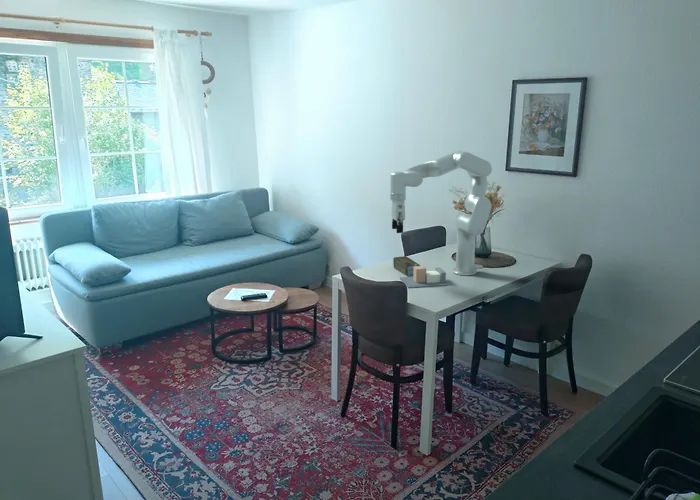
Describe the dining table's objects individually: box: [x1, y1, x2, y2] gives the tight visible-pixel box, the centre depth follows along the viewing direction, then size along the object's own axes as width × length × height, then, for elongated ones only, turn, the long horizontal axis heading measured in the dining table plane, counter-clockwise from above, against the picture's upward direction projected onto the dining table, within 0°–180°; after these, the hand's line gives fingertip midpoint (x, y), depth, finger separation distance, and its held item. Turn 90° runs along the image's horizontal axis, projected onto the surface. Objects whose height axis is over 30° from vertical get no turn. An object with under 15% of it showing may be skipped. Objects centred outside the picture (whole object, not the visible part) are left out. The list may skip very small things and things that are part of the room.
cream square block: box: [426, 267, 447, 283], centre depth 270 cm, size 9×9×5 cm
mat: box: [399, 276, 448, 289], centre depth 270 cm, size 20×16×1 cm
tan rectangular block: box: [412, 265, 427, 283], centre depth 268 cm, size 5×5×7 cm
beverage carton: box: [392, 255, 421, 277], centre depth 288 cm, size 8×19×7 cm, turn 19°
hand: (397, 230), depth 268 cm, fingers open, 9 cm apart
